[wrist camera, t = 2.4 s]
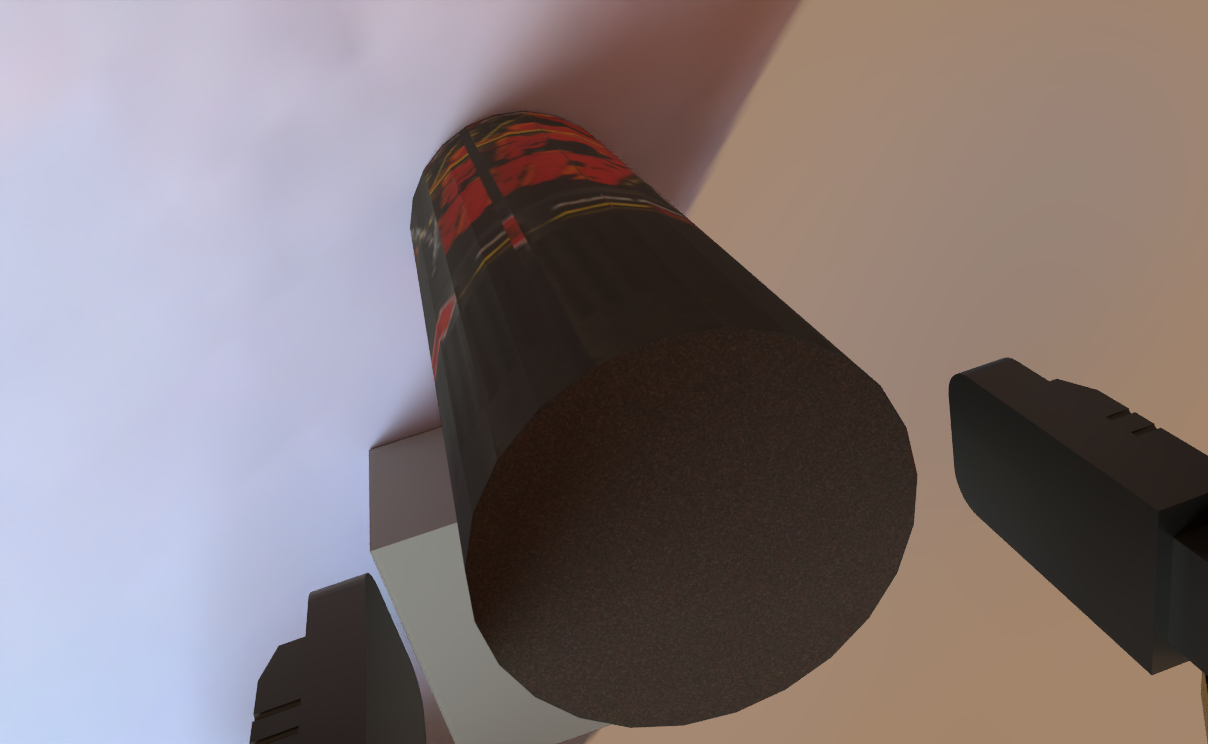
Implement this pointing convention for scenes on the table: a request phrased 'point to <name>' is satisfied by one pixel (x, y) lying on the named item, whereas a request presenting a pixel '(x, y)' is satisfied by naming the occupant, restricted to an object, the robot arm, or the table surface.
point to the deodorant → (642, 438)
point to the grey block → (447, 601)
